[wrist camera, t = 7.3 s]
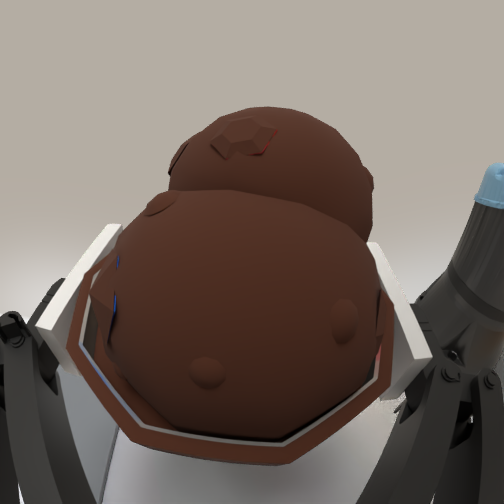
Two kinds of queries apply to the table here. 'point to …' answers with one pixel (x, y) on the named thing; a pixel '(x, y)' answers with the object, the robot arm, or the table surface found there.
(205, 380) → the ice cream bowl
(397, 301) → the robot arm
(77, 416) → the slate mat
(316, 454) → the table surface
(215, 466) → the table surface
